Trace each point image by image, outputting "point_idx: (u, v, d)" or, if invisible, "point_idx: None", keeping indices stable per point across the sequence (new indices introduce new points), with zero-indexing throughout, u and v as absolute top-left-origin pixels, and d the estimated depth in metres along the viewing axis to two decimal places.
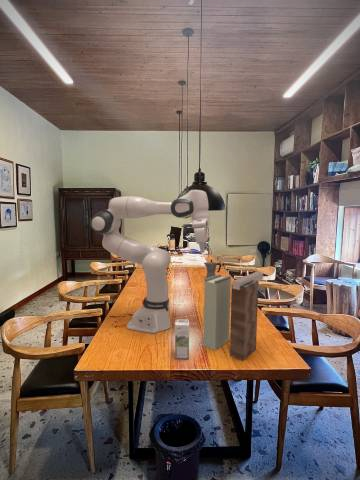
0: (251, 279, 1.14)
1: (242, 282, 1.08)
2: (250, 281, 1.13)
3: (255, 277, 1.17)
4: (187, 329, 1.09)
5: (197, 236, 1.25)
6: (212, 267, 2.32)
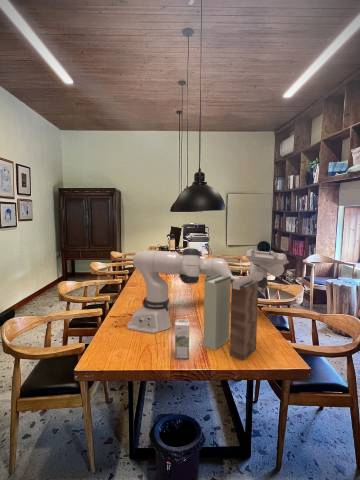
0: (251, 279, 1.14)
1: (242, 282, 1.08)
2: (250, 281, 1.13)
3: (255, 277, 1.17)
4: (187, 329, 1.09)
5: None
6: None
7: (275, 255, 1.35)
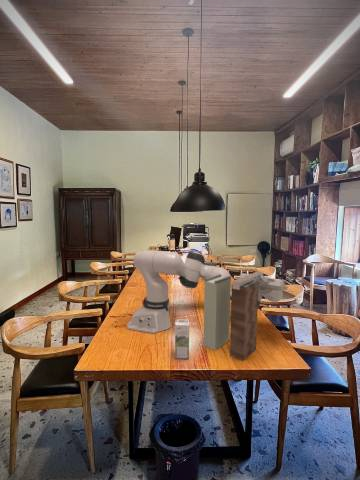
0: (251, 279, 1.14)
1: (242, 282, 1.08)
2: (250, 281, 1.13)
3: (255, 277, 1.17)
4: (187, 329, 1.09)
5: None
6: None
7: (266, 280, 1.20)
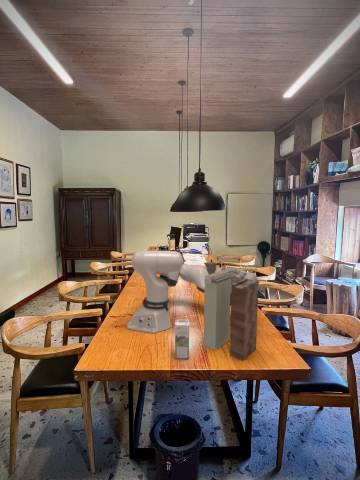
0: (224, 274, 1.22)
1: (214, 277, 1.16)
2: (223, 276, 1.21)
3: (228, 272, 1.25)
4: (187, 329, 1.09)
5: None
6: (212, 267, 2.32)
7: (242, 274, 1.27)
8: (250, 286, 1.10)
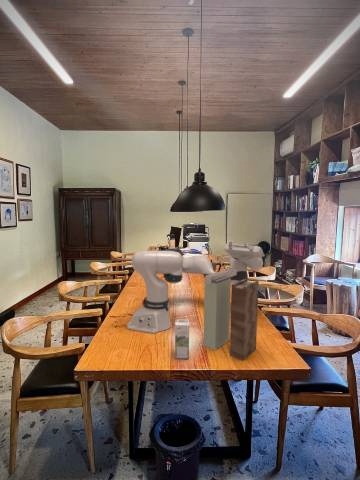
0: (224, 274, 1.22)
1: (214, 277, 1.16)
2: (223, 276, 1.21)
3: (228, 272, 1.25)
4: (187, 329, 1.09)
5: None
6: None
7: (250, 248, 1.39)
8: (250, 286, 1.10)
